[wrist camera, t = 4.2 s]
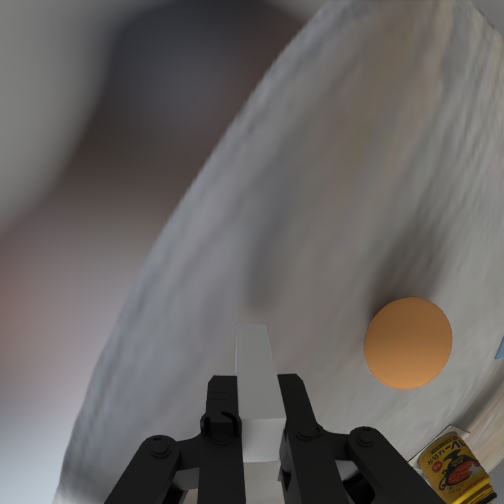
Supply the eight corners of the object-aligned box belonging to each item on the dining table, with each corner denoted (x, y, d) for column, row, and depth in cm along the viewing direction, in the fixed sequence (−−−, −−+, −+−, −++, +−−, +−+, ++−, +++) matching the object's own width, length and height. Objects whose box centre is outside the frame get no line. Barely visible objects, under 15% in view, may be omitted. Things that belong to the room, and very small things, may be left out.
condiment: (448, 424, 22) (498, 493, 10) (469, 432, 24) (510, 488, 12) (402, 465, 23) (438, 537, 12) (430, 468, 25) (463, 526, 13)
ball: (343, 360, 18) (374, 416, 12) (359, 284, 16) (406, 328, 11) (410, 352, 18) (448, 396, 13) (429, 282, 17) (481, 317, 11)
